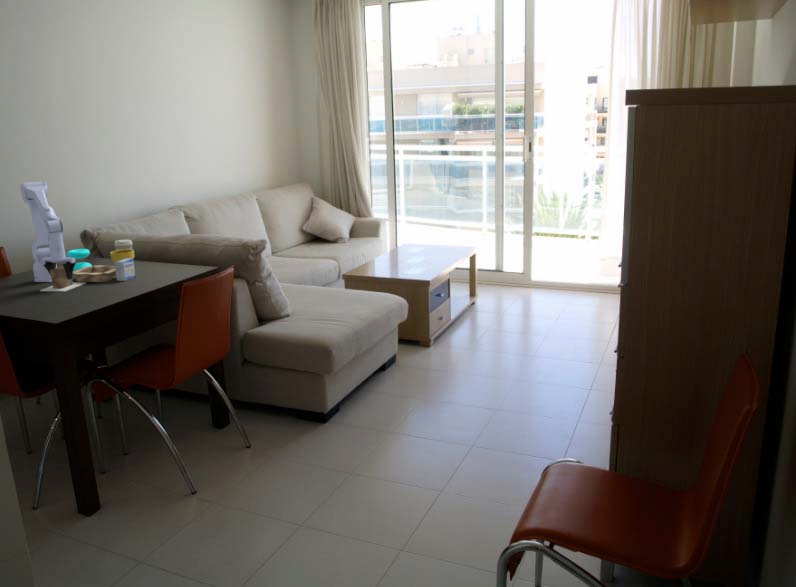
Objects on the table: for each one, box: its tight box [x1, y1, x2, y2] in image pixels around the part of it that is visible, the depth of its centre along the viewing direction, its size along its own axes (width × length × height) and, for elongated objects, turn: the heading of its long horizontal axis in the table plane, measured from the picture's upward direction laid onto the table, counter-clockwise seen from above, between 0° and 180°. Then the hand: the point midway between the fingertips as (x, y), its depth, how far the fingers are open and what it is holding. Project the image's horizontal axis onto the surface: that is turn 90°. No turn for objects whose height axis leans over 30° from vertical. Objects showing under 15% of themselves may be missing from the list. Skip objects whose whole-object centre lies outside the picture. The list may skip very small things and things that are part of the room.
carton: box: [72, 264, 117, 283], centre depth 308 cm, size 19×17×4 cm
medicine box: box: [114, 258, 136, 282], centre depth 304 cm, size 8×4×9 cm, turn 168°
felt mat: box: [39, 281, 87, 293], centre depth 294 cm, size 12×14×1 cm
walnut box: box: [50, 265, 74, 289], centre depth 293 cm, size 4×7×8 cm, turn 168°
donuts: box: [66, 248, 93, 271], centre depth 325 cm, size 10×10×10 cm
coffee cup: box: [114, 238, 133, 251], centre depth 335 cm, size 8×8×12 cm
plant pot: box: [109, 248, 135, 265], centre depth 319 cm, size 10×10×10 cm
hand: (62, 279), depth 294 cm, fingers open, 7 cm apart
